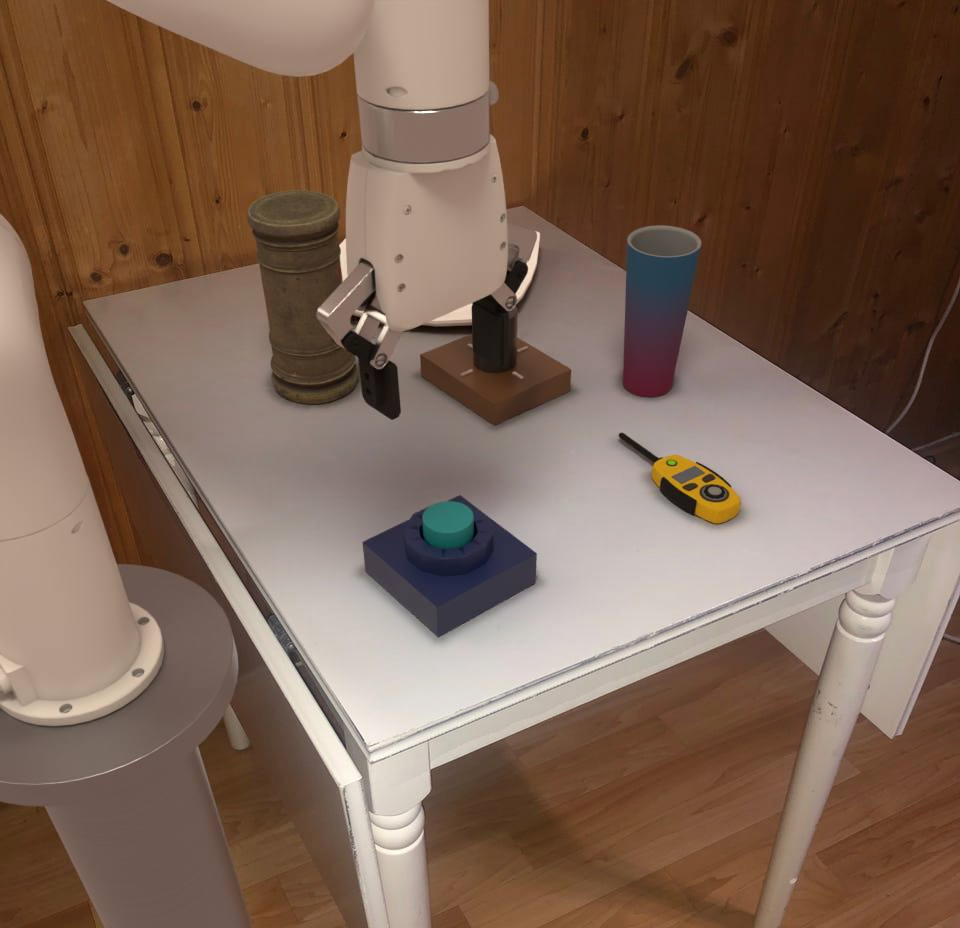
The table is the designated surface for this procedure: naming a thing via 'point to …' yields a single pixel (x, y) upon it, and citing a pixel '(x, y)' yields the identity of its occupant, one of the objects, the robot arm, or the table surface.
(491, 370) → the dial
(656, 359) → the cup
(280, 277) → the container
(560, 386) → the console
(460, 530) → the teal button cap
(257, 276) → the table surface
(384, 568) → the teal button cap base
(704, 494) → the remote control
